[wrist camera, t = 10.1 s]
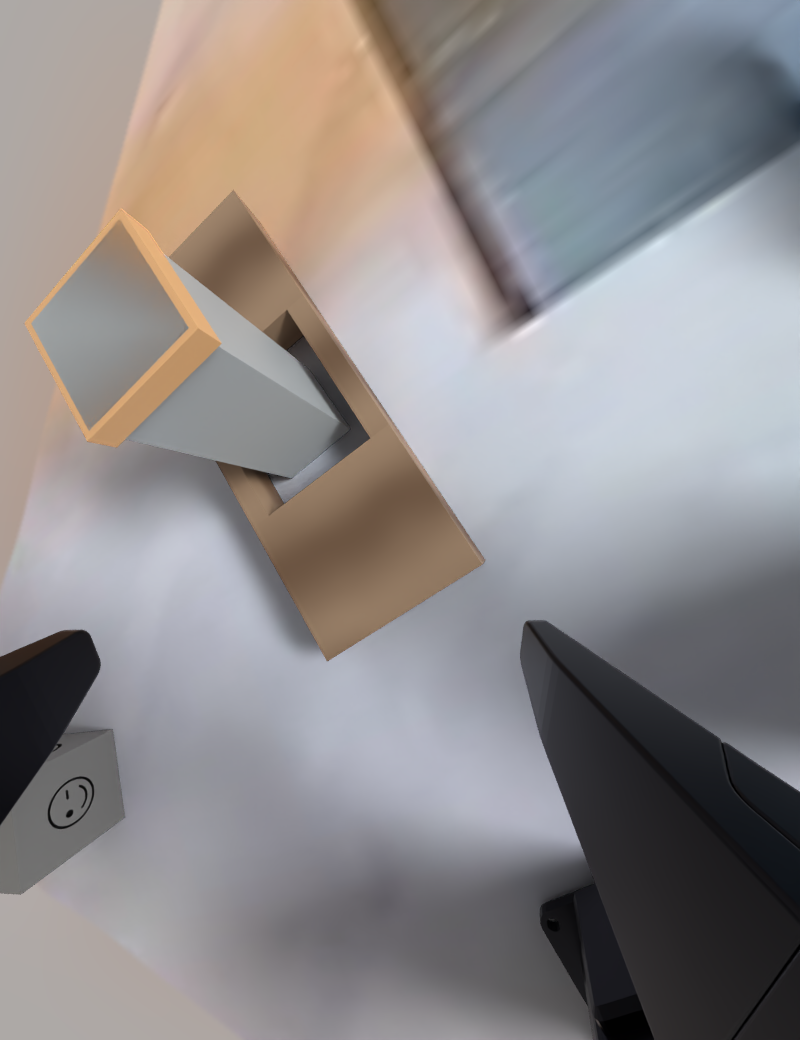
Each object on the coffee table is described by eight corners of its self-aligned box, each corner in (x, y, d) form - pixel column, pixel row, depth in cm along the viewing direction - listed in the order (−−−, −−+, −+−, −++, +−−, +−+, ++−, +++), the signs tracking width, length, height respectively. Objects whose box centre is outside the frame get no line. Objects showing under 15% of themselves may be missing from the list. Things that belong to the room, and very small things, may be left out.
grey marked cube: (125, 816, 23) (21, 894, 18) (64, 817, 24) (-49, 890, 19) (113, 729, 23) (8, 781, 18) (54, 734, 24) (-59, 785, 19)
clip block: (356, 429, 19) (198, 328, 9) (291, 483, 20) (87, 441, 10) (309, 363, 20) (121, 207, 10) (249, 418, 21) (24, 323, 11)
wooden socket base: (485, 560, 17) (482, 564, 15) (345, 648, 19) (327, 661, 17) (258, 221, 21) (233, 189, 19) (159, 320, 23) (127, 300, 21)
